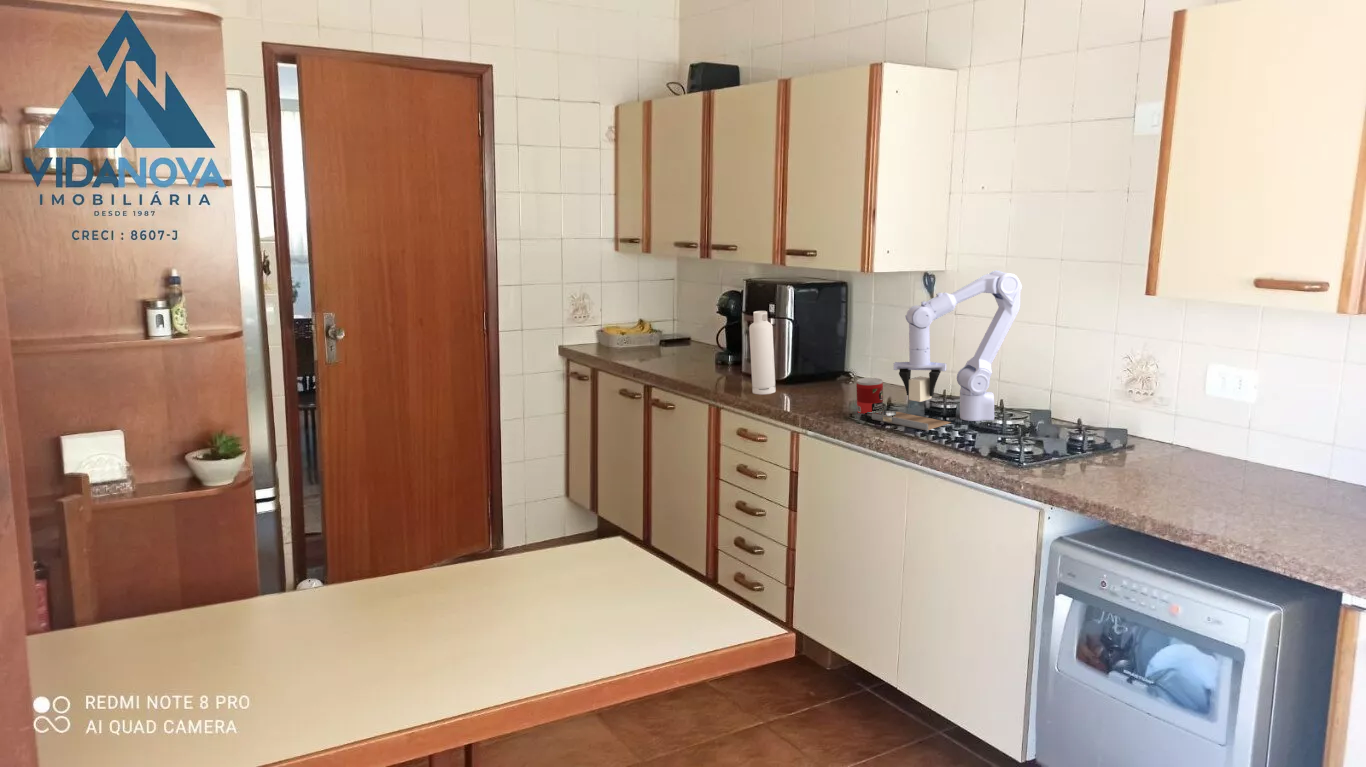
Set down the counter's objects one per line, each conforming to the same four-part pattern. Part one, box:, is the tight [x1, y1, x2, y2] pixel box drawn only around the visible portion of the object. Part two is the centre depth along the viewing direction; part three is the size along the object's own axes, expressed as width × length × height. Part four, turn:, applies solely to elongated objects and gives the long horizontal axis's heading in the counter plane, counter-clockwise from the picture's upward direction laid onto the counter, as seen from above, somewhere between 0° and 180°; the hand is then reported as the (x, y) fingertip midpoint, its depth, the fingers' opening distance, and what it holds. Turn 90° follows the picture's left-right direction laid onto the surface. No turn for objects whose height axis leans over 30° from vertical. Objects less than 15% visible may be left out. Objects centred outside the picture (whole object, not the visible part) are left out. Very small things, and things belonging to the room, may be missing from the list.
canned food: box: [855, 377, 884, 415], centre depth 286 cm, size 8×8×11 cm
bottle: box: [748, 310, 776, 395], centre depth 325 cm, size 8×8×28 cm
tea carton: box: [908, 375, 932, 403], centre depth 269 cm, size 5×4×6 cm
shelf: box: [871, 411, 952, 432], centre depth 273 cm, size 20×11×3 cm, turn 37°
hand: (920, 394), depth 269 cm, fingers closed on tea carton, 6 cm apart
